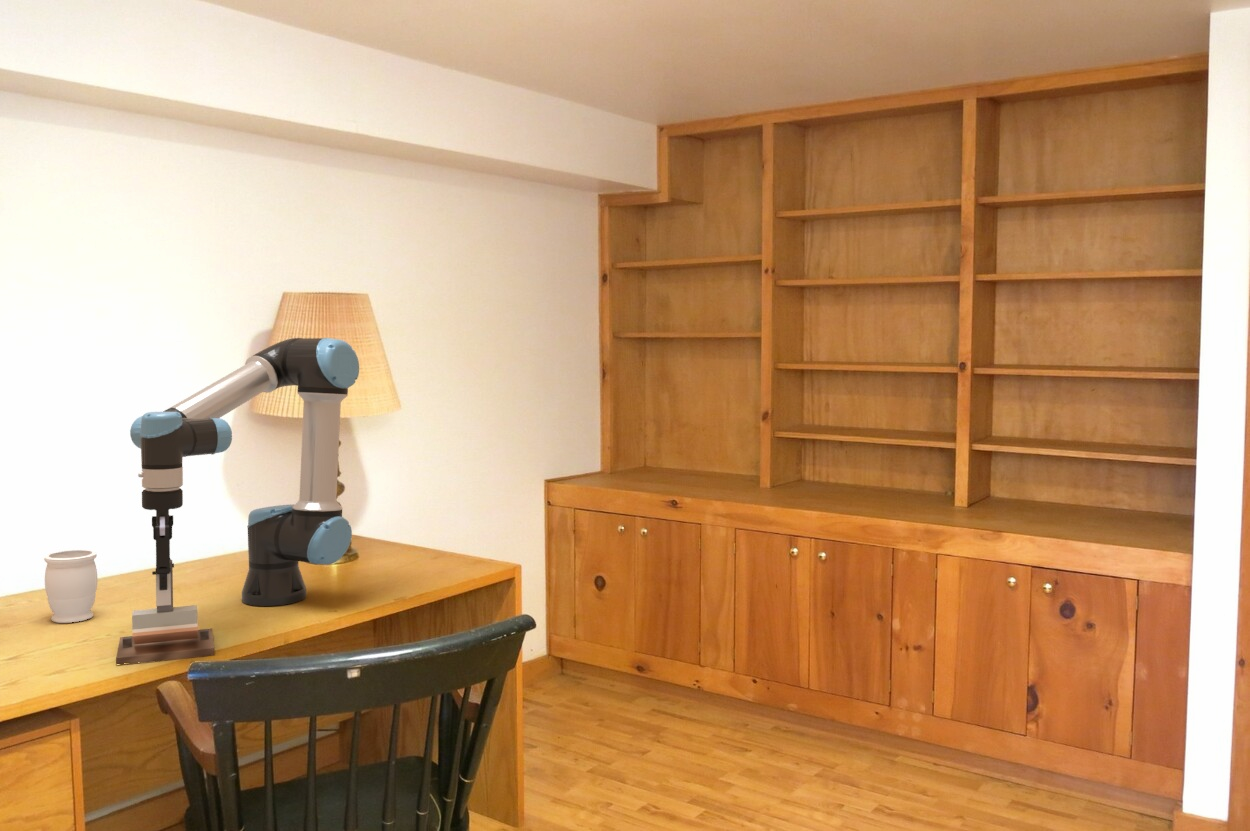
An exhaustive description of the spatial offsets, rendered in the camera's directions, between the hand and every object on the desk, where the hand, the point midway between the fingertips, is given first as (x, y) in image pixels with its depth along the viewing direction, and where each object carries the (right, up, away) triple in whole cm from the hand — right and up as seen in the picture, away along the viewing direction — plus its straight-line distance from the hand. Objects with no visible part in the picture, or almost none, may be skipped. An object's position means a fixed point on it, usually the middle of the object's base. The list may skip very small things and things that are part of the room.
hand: (163, 602), depth 207 cm
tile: (0, -6, +1) cm, 6 cm away
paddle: (0, -5, 0) cm, 5 cm away
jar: (-33, -9, +26) cm, 42 cm away
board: (-1, -11, +4) cm, 11 cm away
